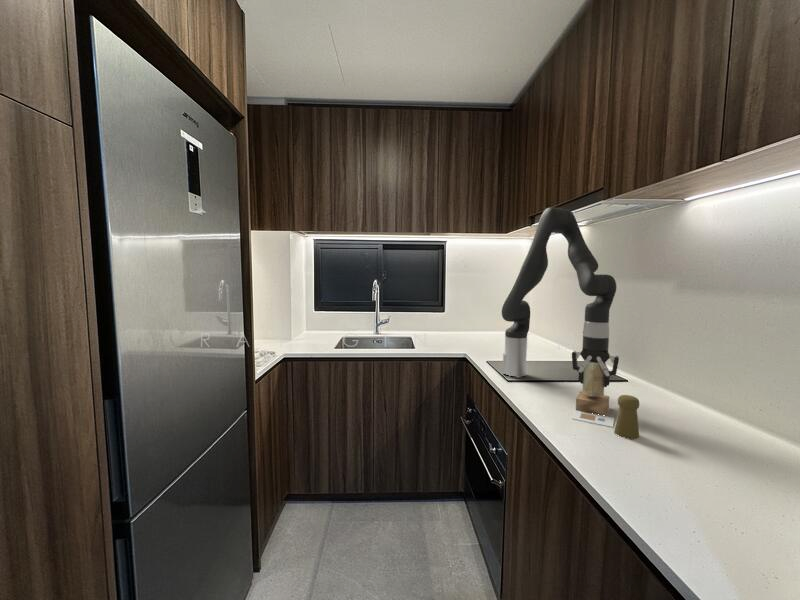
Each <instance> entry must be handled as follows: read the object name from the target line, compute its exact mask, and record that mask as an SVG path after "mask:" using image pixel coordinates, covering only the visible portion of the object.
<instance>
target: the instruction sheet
mask: <svg viewBox="0 0 800 600" xmlns="http://www.w3.org/2000/svg"><path fill="white" fill-rule="evenodd" d="M571 420H575V421H580V422H584V423H589V424H594V425H599V426H603V427H610V428H614V425H615V424H614V423H615V417H613V416H608V415H607V416H603V415H598V414H592V413H587V412H582V411H577V410H576V409H575V411H574V412H573V415H572V417H571Z"/></svg>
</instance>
